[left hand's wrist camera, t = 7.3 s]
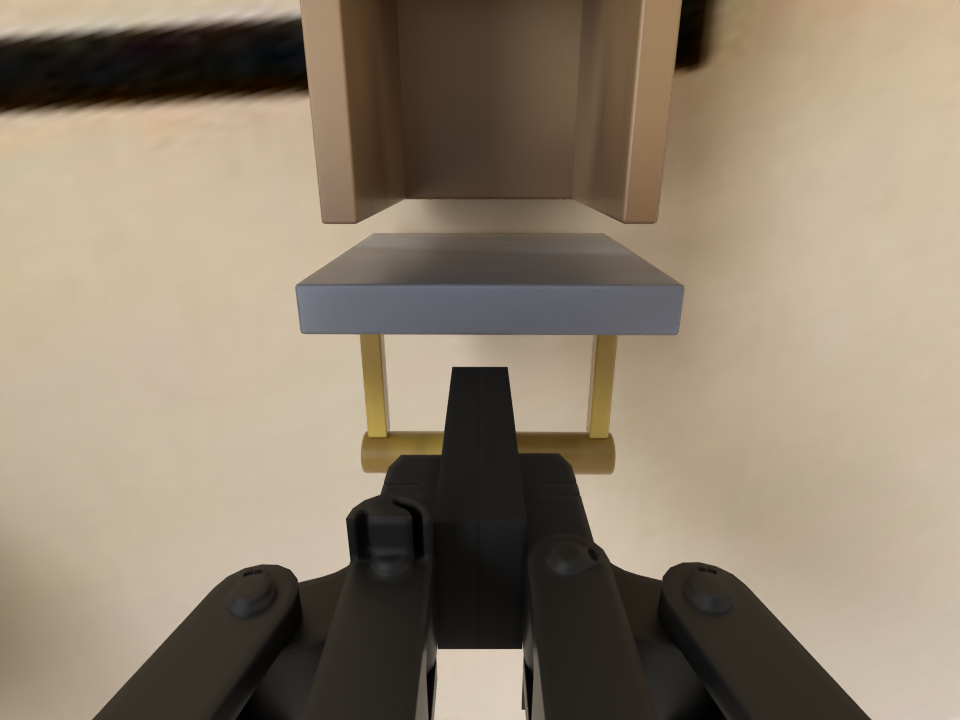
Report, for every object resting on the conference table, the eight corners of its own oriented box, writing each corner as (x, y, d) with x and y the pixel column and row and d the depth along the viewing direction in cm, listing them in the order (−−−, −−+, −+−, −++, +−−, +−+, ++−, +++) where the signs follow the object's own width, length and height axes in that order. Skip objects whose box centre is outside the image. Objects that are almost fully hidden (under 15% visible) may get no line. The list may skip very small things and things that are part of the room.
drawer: (592, 399, 23) (652, 537, 14) (383, 398, 23) (324, 535, 15) (663, -510, 14) (928, -1511, 6) (321, -503, 14) (75, -1479, 6)
